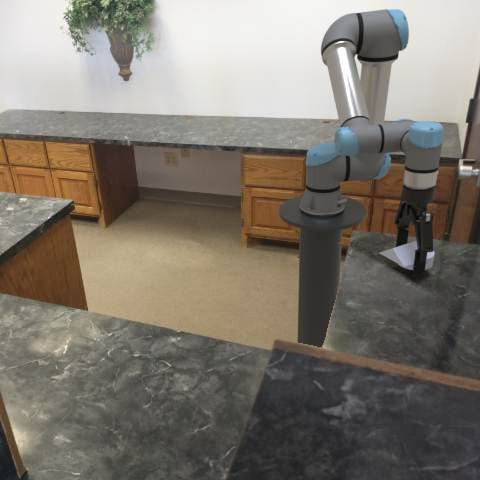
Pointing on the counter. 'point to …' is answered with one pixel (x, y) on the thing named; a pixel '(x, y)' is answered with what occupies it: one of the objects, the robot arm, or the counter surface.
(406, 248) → the wedge on round base
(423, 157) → the robot arm
